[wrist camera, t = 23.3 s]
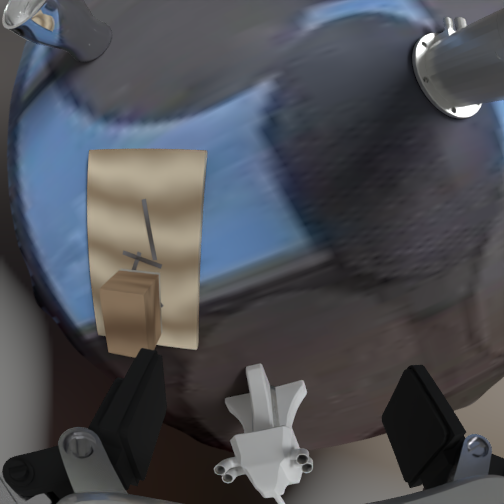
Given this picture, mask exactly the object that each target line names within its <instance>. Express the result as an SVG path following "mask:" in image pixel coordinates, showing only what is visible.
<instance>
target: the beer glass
mask: <svg viewBox="0 0 504 504" xmlns="http://www.w3.org/2000/svg"><path fill="white" fill-rule="evenodd" d="M2 22H3V26H4V27H5V28H7V29H9V30H11V31H12V32H14V33H16V34H17V35H19V36H21V37H23V38H24V39H26V40H28V41H31V42H33V43H36V44H39V45H43V46H47V47H52V48H58V49H62V50H65V51H67V52H69V53H70V54H71V55H72V57H73V58H74V59H76V60H77V61H79V62H89V61H92V60H94V59H96V58H98V57H99V56H100V55H101V54H103V53H104V51H105V50H106V49H107V48H108V46H109V44H110V42H111V39H112V30H111V28H110V26H109V25H108V24H106V23H104V22H102V21H100V20H98V19H96V18H95V17H94V16H93V15H92V13H91V11H90V10H89V8H88V6H87V5H86V3H85V1H84V0H10V1H9V3H8V4H7V6H6V9H5V11H4V14H3V19H2Z"/></svg>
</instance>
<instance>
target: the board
mask: <svg viewBox="0 0 504 504" xmlns="http://www.w3.org/2000/svg"><path fill="white" fill-rule="evenodd" d="M206 163H207V151H206V150H184V149H102V150H89V159H88V183H87V226H88V249H89V264H90V276H91V286H92V295H93V303H94V311H95V318H96V325H97V331H98V335H102V336H106V334H105V328H104V322H103V315H102V308H101V300H100V291H99V289H100V288H101V287H102V286H103V285H104V284H105V283H106V282H107V281H108V280H109V279H110V278H111V277H112V276H113V275H114V274H116V273H117V272H118V271H119V270H120V269H129V270H138V271H147V272H157V273H160V291H161V316H162V334H161V336H160V338H159V340H158V342H157V344H156V345H162V346H169V347H177V348H185V349H194V350H197V347H198V335H199V286H200V259H201V237H202V219H203V203H204V189H205V175H206Z"/></svg>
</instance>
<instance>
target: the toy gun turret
mask: <svg viewBox="0 0 504 504" xmlns="http://www.w3.org/2000/svg"><path fill="white" fill-rule="evenodd" d="M246 376H247V381H248V386H249V392H250V393H247V394H242V395H237V396H232V397H227V398H225V404H226V406H227V408H228V410H229V412H230V413H232V414H233V415H234V416H235V417H236V418H237V419H238V420H239V421H240V422H241V424H242V425H243V428H244V433H242V434H237V435H235V436H234V437H233V438H232V439H231V440H230V442H231V445H232V448H233V451H234V453H235V456H236V457H232V458H228V459H225V460H223V461H221V462H220V463H219V464H218V465H216V466H215V468H214V471H215V473H216V474H218V475H223V474H224V475H223V476H222V479H223V481H224V482H226V483H231V482H232V481H233V480H234V479H235V478H236V477H237V476H239V475H243V474H246V475H247V476H248V478H249V479H250V481H251V482H252V484H253V485H254V487H255V488H256V490H258V491H259V492H260V494H261V495H262V496H263V497H265V498H269V497H274V498H275V500H276V501H277V503H278V504H285V503H284V501H283V499H282V498H281V496H280V495H282V494H284V490H285V488H286V486H287V485H290V484H295V483H299V482H300V478H301V475H302V471H303V472H305V473H308V472H311V471H312V469H313V460H312V459H311V458H310V457H309V452H308V451H307V450H306V449H303V448H299V445H298V443H297V440H296V437H295V435H294V432H293V429H292V423H293V420H294V417H295V414H296V412H297V409H298V407H299V405H300V403H301V402H302V400H303V399H304V397H305V396H306V394H307V391H306V387H305V383H304V381H303V380H300V381H297V382H293V383H289V384H285V385H281V386H277V387H274V386H270V384H269V382H268V379H267V376H266V374H265V371H264V368H263V366H262V364H260V363H259V364H255V365H251V366H247V367H246Z"/></svg>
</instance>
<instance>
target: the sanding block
mask: <svg viewBox="0 0 504 504" xmlns="http://www.w3.org/2000/svg"><path fill="white" fill-rule="evenodd" d="M99 291H100V300H101V308H102V315H103V322H104V328H105V334H106V340H107V346H108V351H109V353H114V354H119V355H124V356H129V357H135V358H136V356H137V354H138V352H139V351H140V349H141V348H145V349H151V350H154V349H155V347H156V344H157V342H158V340H159V338H160V336H161V334H162V316H161V291H160V273H157V272H147V271H138V270H129V269H120V270H119V271H118V272H117V273H116V274H114V275H113V276H112V277H111V278H110V279H109V280H108V281H107V282H106V283H105V284H104V285H103V286H102V287H101V288H100V289H99Z"/></svg>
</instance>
